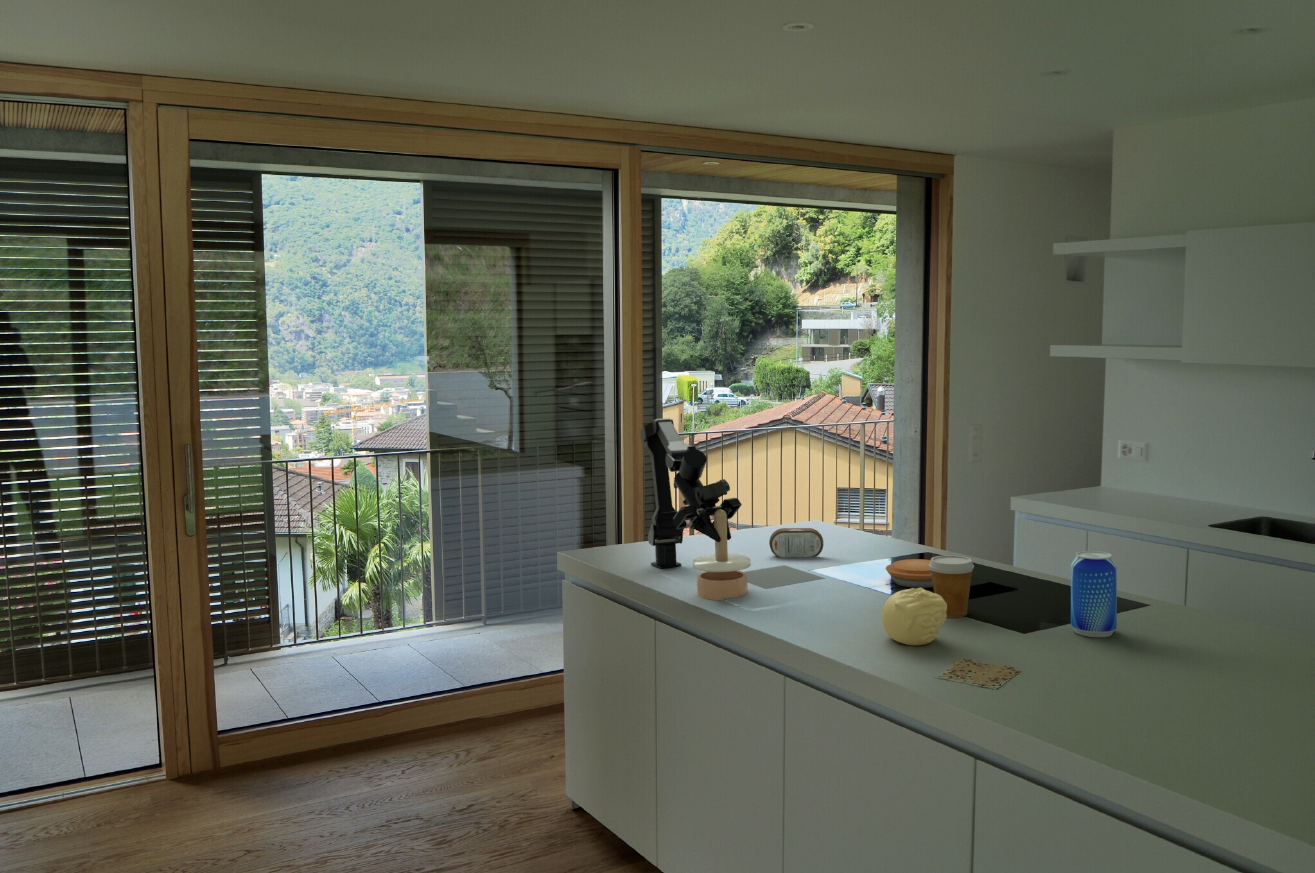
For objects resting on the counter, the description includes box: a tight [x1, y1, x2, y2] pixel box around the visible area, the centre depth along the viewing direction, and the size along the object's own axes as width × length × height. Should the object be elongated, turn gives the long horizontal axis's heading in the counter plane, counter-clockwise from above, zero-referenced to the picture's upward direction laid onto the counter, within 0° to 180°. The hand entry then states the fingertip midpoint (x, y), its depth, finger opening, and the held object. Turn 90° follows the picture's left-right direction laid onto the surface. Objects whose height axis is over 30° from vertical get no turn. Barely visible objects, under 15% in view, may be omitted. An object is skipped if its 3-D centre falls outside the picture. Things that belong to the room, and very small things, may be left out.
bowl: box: [696, 570, 749, 601], centre depth 240 cm, size 12×12×4 cm
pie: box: [885, 558, 933, 589], centre depth 244 cm, size 15×16×5 cm
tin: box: [768, 527, 824, 558], centre depth 275 cm, size 15×3×8 cm, turn 84°
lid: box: [692, 509, 752, 572], centre depth 239 cm, size 14×14×14 cm
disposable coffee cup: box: [929, 554, 975, 618], centre depth 215 cm, size 10×10×12 cm
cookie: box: [938, 658, 1021, 688], centre depth 177 cm, size 12×12×1 cm
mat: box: [743, 564, 826, 590], centre depth 253 cm, size 18×18×1 cm
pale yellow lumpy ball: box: [881, 587, 948, 646], centre depth 197 cm, size 11×12×11 cm
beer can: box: [1070, 550, 1118, 638], centre depth 198 cm, size 8×8×16 cm
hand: (724, 540), depth 238 cm, fingers closed on lid, 3 cm apart
